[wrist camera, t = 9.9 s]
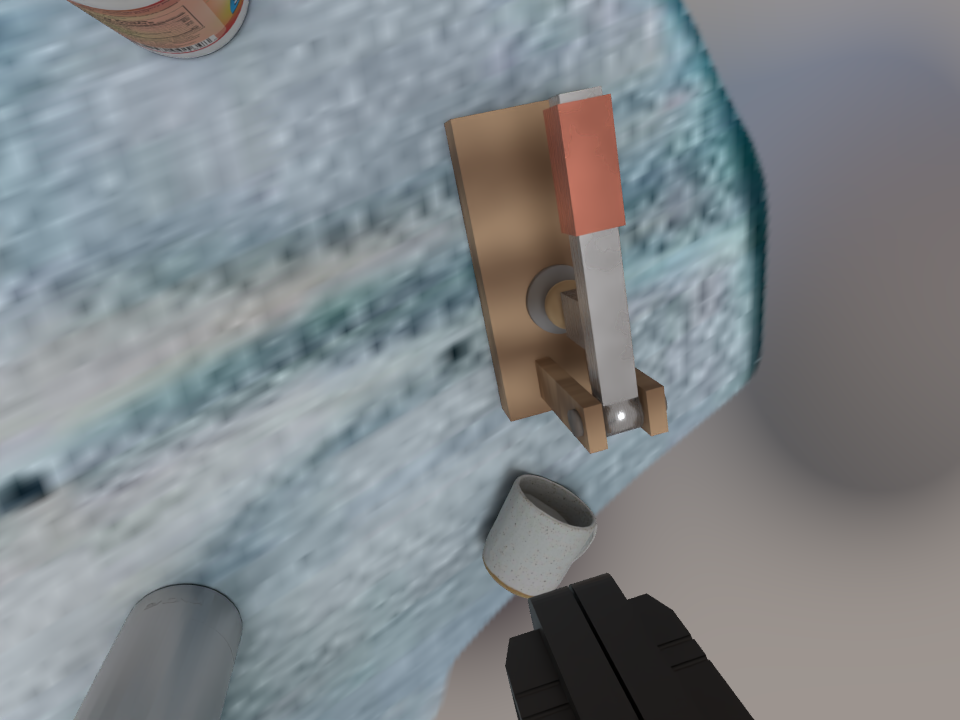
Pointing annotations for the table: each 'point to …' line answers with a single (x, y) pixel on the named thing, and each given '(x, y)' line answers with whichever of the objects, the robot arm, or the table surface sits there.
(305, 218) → the table surface
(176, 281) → the table surface
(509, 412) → the base
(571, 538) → the ceramic mug
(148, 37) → the fruit juice
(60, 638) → the table surface
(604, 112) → the lever
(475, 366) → the table surface
